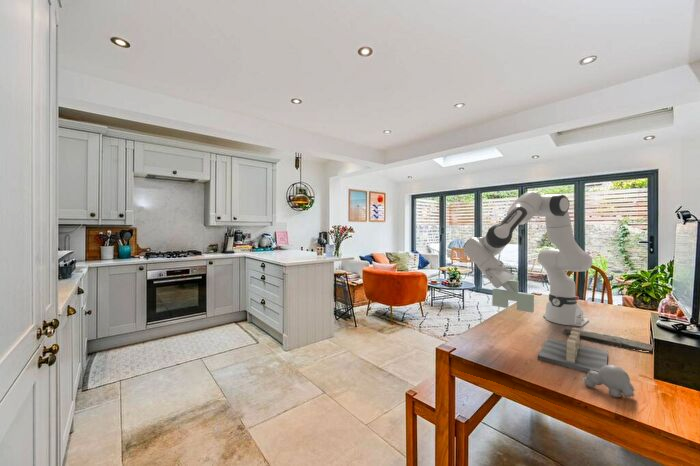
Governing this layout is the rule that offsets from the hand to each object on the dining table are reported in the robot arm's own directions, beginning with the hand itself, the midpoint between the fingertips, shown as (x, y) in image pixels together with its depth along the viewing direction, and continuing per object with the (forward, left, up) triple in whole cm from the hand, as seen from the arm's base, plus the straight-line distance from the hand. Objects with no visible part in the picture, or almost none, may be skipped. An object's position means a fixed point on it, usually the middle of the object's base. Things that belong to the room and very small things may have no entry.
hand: (514, 291), depth 129 cm
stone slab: (-39, +18, -23) cm, 49 cm away
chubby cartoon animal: (+11, +38, -23) cm, 45 cm away
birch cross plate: (-7, +20, -23) cm, 31 cm away
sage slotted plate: (0, -1, -8) cm, 8 cm away
